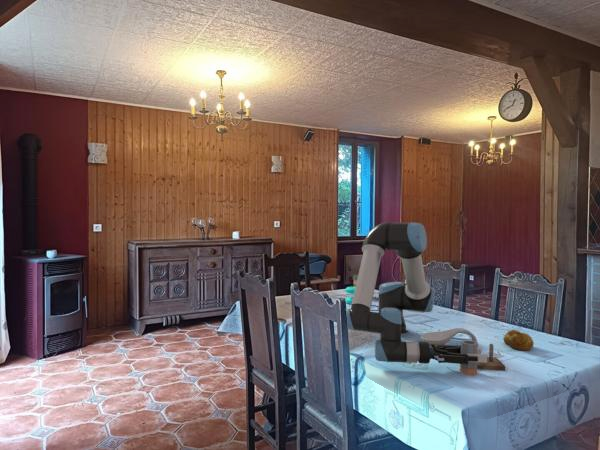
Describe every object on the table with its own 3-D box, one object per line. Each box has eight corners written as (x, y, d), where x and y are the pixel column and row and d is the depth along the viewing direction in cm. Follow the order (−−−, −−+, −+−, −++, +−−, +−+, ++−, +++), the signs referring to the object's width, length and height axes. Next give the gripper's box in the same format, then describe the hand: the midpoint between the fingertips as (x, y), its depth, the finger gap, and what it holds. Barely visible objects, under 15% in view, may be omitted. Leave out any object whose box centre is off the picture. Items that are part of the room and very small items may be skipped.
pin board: (462, 368, 158) (463, 346, 158) (456, 359, 168) (456, 338, 168) (505, 370, 156) (505, 348, 156) (496, 361, 166) (496, 340, 166)
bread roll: (498, 343, 189) (498, 325, 189) (517, 342, 191) (517, 324, 191) (517, 352, 177) (517, 333, 176) (538, 351, 178) (538, 332, 178)
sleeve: (462, 374, 152) (463, 344, 151) (459, 369, 157) (459, 339, 157) (478, 375, 151) (479, 344, 151) (474, 370, 156) (474, 340, 156)
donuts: (363, 288, 267) (347, 289, 266) (363, 304, 268) (347, 305, 267) (359, 286, 277) (344, 286, 276) (359, 301, 278) (344, 301, 276)
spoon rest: (424, 348, 182) (425, 332, 182) (418, 340, 194) (418, 324, 193) (481, 349, 181) (481, 332, 181) (471, 341, 193) (471, 325, 192)
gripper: (413, 354, 166) (476, 356, 163) (421, 372, 147) (492, 375, 144) (414, 334, 165) (476, 337, 162) (422, 350, 146) (492, 353, 144)
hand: (483, 355), depth 153 cm, fingers open, 6 cm apart
